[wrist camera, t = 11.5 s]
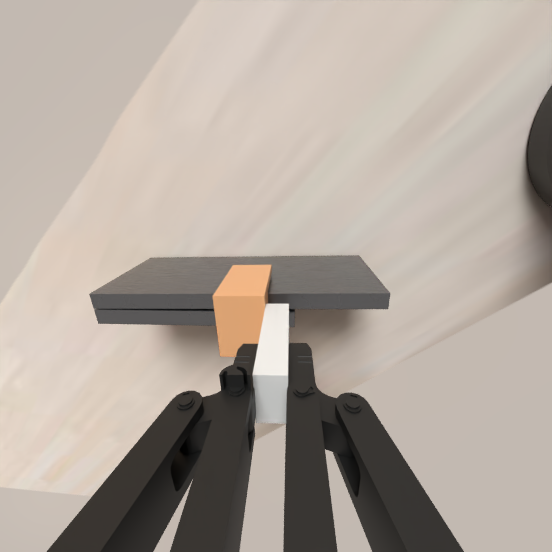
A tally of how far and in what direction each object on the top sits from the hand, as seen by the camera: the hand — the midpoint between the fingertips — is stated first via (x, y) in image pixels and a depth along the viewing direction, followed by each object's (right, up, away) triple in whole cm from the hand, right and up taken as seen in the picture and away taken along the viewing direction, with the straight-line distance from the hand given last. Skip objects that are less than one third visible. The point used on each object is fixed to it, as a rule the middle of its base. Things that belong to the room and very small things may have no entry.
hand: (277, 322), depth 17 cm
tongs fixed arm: (-3, +4, +10) cm, 11 cm away
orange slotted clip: (-2, +2, +5) cm, 6 cm away
